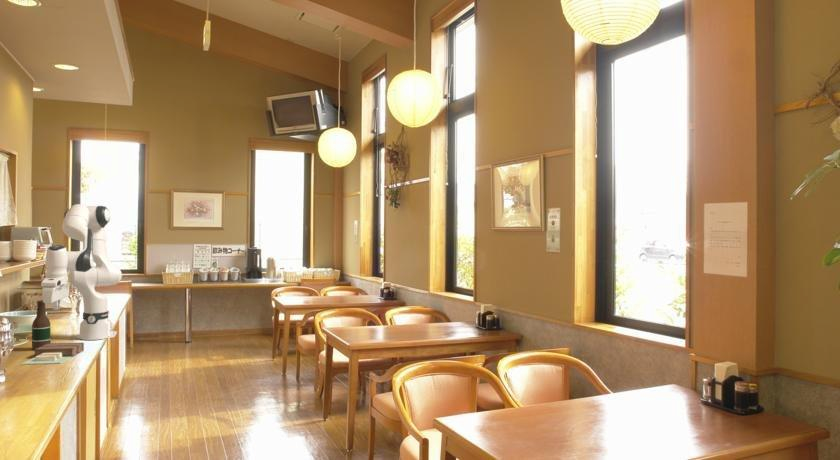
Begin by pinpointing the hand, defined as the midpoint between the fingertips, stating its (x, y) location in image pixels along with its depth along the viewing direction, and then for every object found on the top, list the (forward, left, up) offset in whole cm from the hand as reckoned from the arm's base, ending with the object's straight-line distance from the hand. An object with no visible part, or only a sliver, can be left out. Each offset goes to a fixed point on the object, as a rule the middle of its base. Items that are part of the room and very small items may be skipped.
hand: (56, 309), depth 278 cm
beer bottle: (-18, -14, -22) cm, 32 cm away
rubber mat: (+10, 0, -22) cm, 24 cm away
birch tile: (+7, 0, -22) cm, 23 cm away
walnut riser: (-4, 0, -22) cm, 22 cm away
